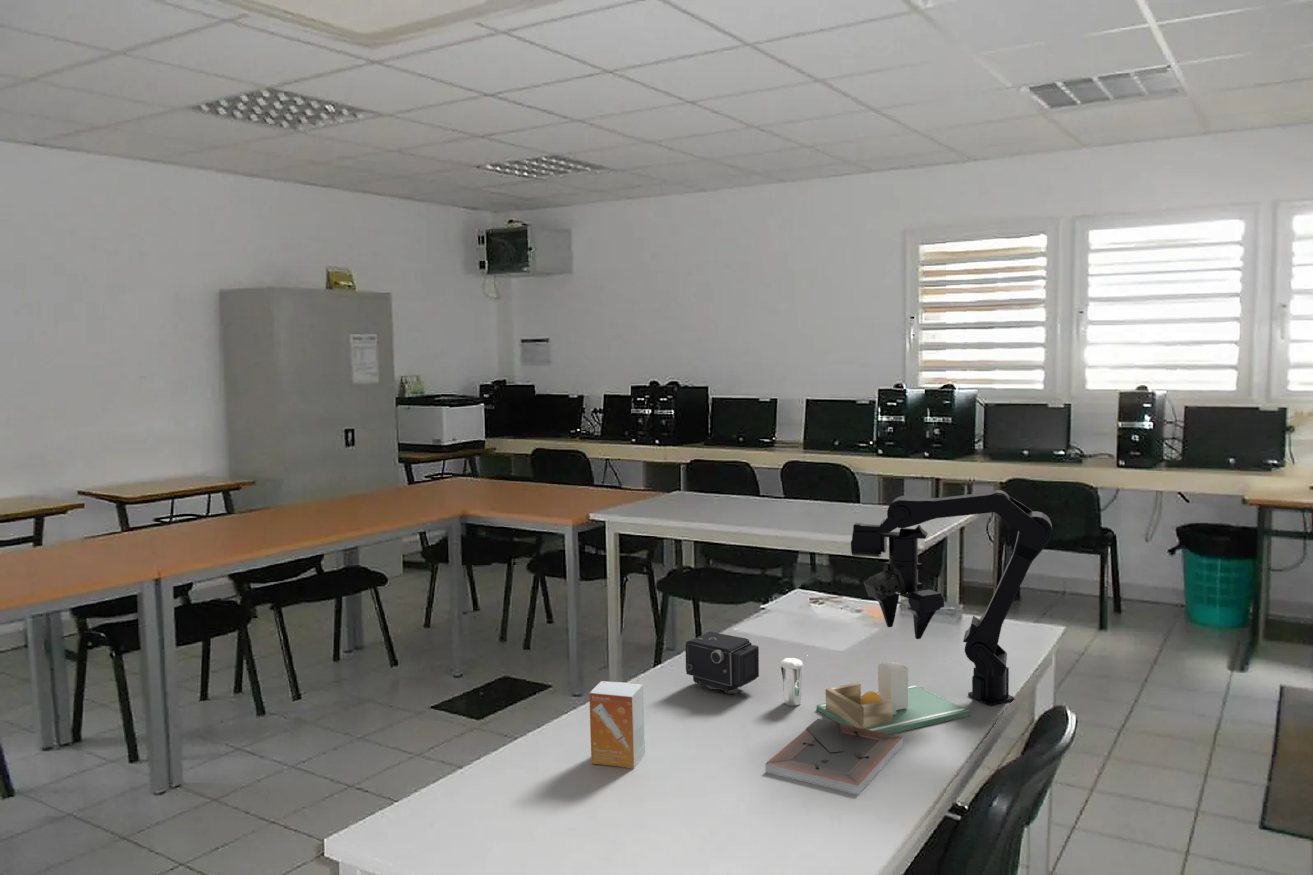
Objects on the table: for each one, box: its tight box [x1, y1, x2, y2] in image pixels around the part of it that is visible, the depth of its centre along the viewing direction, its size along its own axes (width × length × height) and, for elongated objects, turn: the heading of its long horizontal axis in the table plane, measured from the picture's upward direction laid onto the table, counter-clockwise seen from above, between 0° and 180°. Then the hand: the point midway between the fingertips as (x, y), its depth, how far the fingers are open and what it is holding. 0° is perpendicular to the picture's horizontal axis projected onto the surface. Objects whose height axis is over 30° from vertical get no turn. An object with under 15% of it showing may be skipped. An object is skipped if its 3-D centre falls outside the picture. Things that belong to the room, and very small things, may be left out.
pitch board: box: [816, 684, 970, 735], centre depth 184 cm, size 24×16×1 cm, turn 113°
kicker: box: [877, 661, 909, 715], centre depth 183 cm, size 5×7×8 cm
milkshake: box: [780, 655, 808, 707], centre depth 190 cm, size 4×5×10 cm
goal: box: [825, 682, 893, 728], centre depth 180 cm, size 8×11×4 cm
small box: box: [588, 680, 646, 770], centre depth 166 cm, size 8×6×13 cm
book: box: [765, 718, 904, 796], centre depth 164 cm, size 16×2×22 cm
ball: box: [861, 690, 882, 705], centre depth 182 cm, size 4×4×4 cm
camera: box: [685, 631, 760, 694], centre depth 199 cm, size 11×11×15 cm
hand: (903, 632), depth 195 cm, fingers open, 9 cm apart
